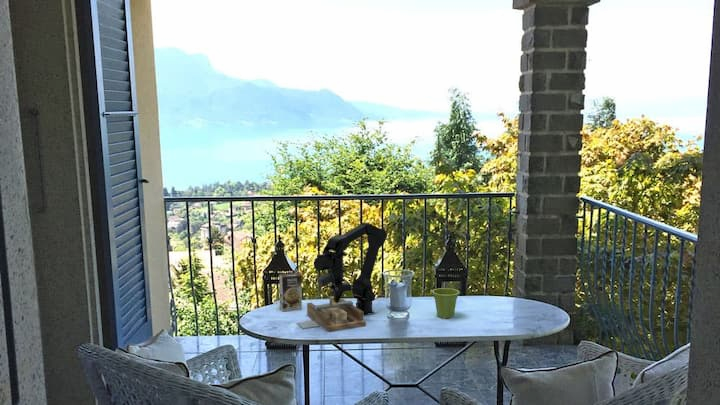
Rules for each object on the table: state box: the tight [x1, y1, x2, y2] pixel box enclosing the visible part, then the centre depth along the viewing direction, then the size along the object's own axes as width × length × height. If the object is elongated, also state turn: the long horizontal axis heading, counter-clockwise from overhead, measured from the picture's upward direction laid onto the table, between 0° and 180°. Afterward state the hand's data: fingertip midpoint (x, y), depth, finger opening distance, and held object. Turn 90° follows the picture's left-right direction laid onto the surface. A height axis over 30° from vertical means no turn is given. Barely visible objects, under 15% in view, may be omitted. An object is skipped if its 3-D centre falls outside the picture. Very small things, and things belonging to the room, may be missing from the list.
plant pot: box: [431, 287, 460, 319], centre depth 260 cm, size 12×12×11 cm
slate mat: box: [296, 320, 321, 330], centre depth 249 cm, size 8×8×1 cm
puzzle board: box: [306, 297, 367, 333], centre depth 255 cm, size 17×24×6 cm
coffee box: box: [279, 272, 303, 312], centre depth 271 cm, size 9×6×16 cm
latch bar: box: [314, 295, 354, 310], centre depth 256 cm, size 17×3×4 cm, turn 116°
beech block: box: [331, 310, 348, 324], centre depth 251 cm, size 5×5×5 cm
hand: (336, 302), depth 253 cm, fingers closed
